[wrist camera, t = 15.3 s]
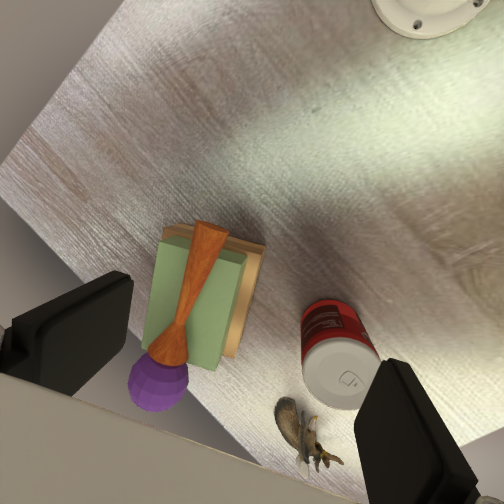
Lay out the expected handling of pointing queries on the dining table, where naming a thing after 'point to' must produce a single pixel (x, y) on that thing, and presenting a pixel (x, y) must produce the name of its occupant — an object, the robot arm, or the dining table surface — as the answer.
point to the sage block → (205, 308)
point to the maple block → (247, 284)
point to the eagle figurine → (301, 437)
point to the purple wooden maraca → (176, 329)
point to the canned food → (336, 355)
